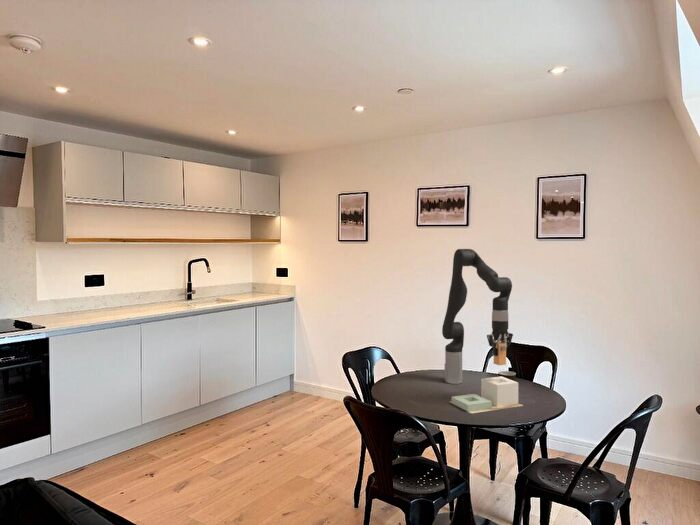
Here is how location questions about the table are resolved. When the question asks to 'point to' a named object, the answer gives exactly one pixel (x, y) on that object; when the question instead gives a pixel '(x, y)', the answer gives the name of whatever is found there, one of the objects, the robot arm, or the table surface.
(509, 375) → the coffee mug
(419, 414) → the table surface
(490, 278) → the robot arm
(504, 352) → the plug
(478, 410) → the jack board
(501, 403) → the white socket block
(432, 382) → the table surface
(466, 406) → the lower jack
